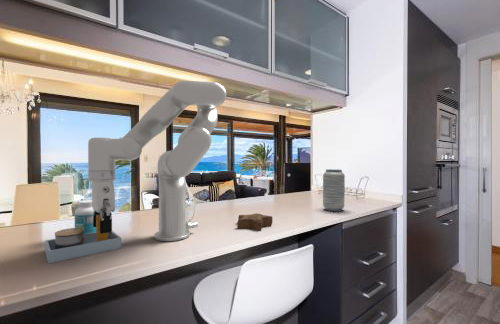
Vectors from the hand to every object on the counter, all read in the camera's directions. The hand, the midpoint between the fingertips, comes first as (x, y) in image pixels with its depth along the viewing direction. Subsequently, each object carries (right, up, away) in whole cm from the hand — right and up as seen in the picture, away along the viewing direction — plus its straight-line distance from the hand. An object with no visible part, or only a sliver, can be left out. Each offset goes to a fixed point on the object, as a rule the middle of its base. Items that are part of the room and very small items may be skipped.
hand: (102, 229), depth 81 cm
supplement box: (0, -5, 0) cm, 6 cm away
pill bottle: (-10, -6, +8) cm, 14 cm away
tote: (-4, -6, -3) cm, 8 cm away
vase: (+95, -6, +62) cm, 114 cm away
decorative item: (+49, -6, +27) cm, 56 cm away
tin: (-6, -5, -6) cm, 10 cm away
